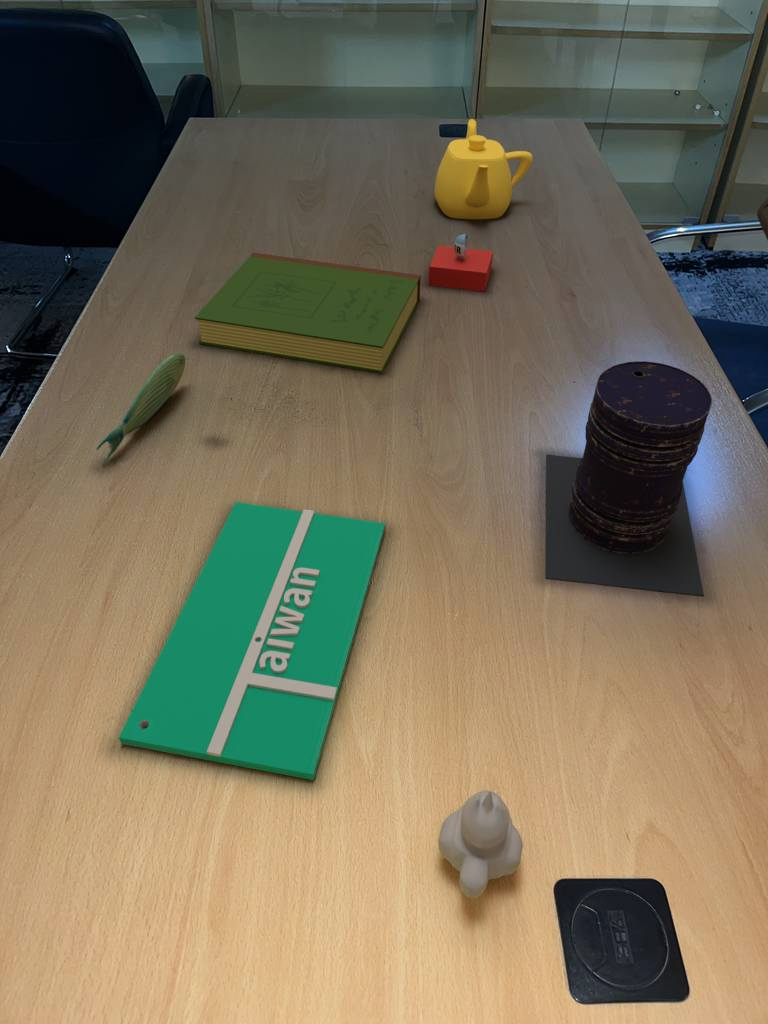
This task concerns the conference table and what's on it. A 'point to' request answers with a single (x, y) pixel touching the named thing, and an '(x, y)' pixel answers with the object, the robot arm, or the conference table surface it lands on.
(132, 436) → the conference table surface
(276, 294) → the book
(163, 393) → the decorative fish
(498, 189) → the teapot
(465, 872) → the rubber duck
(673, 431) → the rusty barrel
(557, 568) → the mat
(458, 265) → the red rectangular block
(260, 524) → the sign
